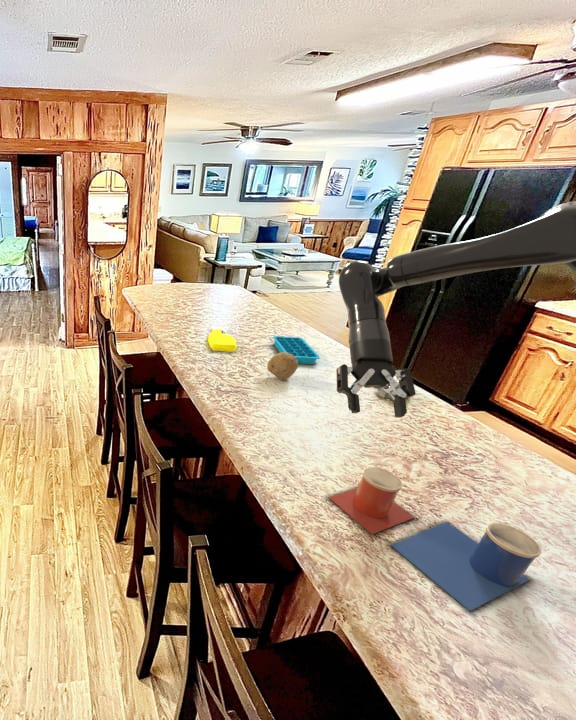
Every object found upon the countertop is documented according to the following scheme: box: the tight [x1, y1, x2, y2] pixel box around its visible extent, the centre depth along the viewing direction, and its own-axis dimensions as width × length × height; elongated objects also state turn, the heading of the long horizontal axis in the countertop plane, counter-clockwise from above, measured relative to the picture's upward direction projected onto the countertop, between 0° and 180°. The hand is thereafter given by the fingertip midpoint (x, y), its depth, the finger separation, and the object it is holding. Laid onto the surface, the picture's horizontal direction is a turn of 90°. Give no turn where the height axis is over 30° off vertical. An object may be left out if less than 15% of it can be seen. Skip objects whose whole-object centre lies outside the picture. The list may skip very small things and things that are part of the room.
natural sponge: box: [267, 352, 299, 381], centre depth 131 cm, size 9×9×10 cm
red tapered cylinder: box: [353, 466, 403, 518], centre depth 80 cm, size 7×7×8 cm
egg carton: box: [376, 377, 400, 401], centre depth 123 cm, size 11×8×4 cm
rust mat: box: [328, 487, 415, 535], centre depth 81 cm, size 12×10×1 cm
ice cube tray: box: [272, 335, 321, 365], centre depth 151 cm, size 12×20×3 cm, turn 173°
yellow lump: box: [207, 326, 238, 353], centre depth 163 cm, size 3×11×24 cm
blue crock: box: [469, 522, 543, 586], centre depth 67 cm, size 7×7×8 cm
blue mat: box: [390, 521, 530, 612], centre depth 70 cm, size 16×13×1 cm
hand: (377, 414), depth 81 cm, fingers open, 8 cm apart
